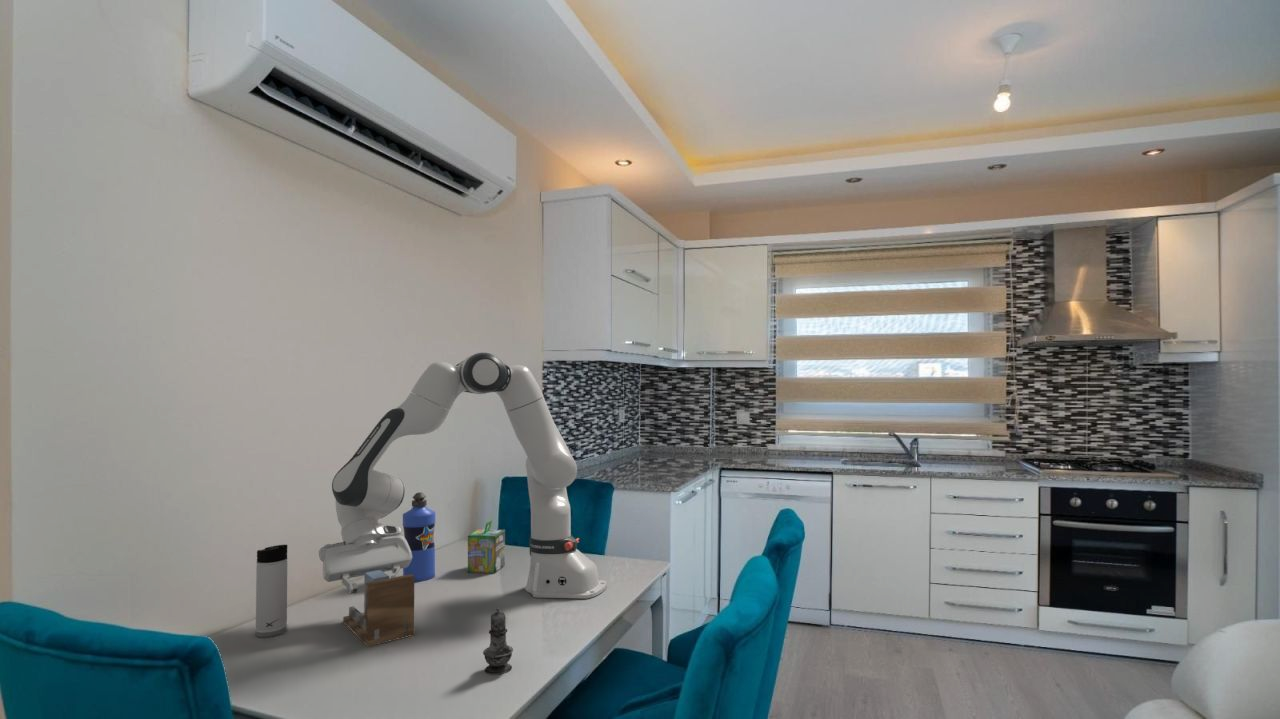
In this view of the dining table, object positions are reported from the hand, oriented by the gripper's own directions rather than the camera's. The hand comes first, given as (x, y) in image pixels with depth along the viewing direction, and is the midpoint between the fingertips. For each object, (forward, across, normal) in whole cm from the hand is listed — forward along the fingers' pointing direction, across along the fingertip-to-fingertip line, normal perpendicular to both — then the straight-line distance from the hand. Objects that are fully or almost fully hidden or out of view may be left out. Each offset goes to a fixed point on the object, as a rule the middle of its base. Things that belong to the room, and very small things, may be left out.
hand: (374, 587), depth 152 cm
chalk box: (-13, +42, +26) cm, 51 cm away
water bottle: (-17, +23, +29) cm, 41 cm away
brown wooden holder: (+8, 0, +4) cm, 9 cm away
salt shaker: (+36, +11, -23) cm, 44 cm away
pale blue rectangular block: (+6, 0, +4) cm, 8 cm away
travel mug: (-2, -20, +14) cm, 24 cm away
